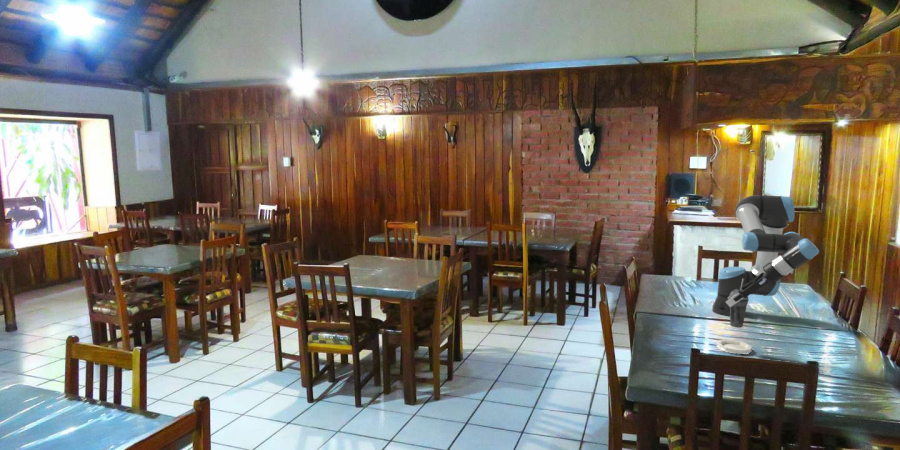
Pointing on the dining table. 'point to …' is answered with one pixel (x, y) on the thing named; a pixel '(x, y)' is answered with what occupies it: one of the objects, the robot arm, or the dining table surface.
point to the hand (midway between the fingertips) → (728, 302)
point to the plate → (733, 346)
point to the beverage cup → (738, 309)
